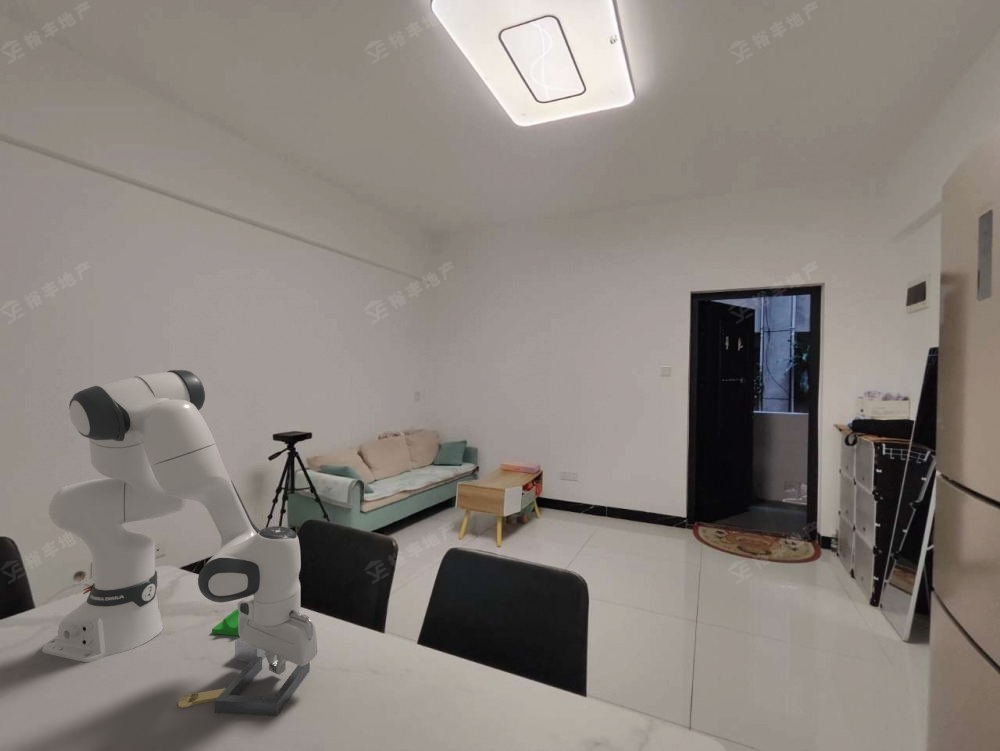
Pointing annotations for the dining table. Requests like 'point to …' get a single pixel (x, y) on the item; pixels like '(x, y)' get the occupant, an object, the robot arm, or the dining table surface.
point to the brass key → (199, 698)
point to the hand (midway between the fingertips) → (277, 671)
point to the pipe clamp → (228, 625)
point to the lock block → (247, 651)
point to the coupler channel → (253, 704)
